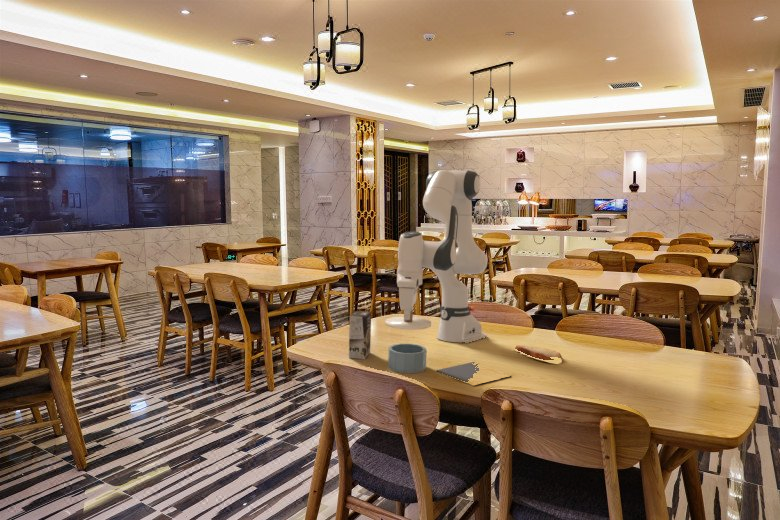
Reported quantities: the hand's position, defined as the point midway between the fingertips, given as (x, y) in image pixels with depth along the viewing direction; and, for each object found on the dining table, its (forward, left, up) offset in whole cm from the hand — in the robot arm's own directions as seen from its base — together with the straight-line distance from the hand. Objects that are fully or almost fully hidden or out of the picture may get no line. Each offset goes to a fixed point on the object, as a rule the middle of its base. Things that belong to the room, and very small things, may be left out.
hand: (408, 318), depth 193 cm
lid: (0, 0, -2) cm, 2 cm away
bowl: (0, 0, -18) cm, 18 cm away
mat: (-15, +18, -18) cm, 29 cm away
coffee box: (+6, -21, -18) cm, 28 cm away
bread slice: (-52, +16, -18) cm, 57 cm away
